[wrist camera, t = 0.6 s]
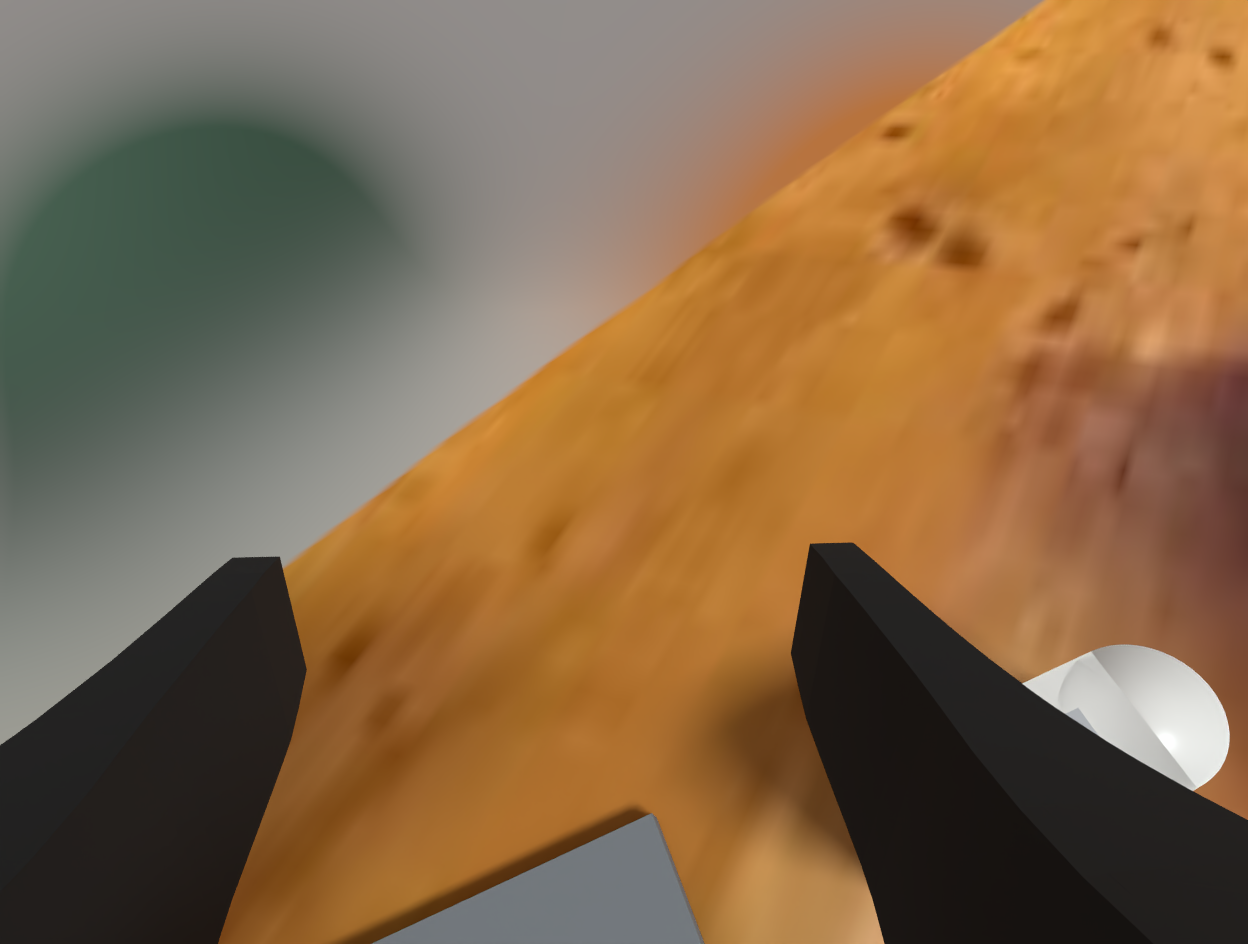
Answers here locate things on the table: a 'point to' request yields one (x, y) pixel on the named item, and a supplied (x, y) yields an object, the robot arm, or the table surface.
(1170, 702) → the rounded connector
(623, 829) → the slate mat
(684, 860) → the table surface
